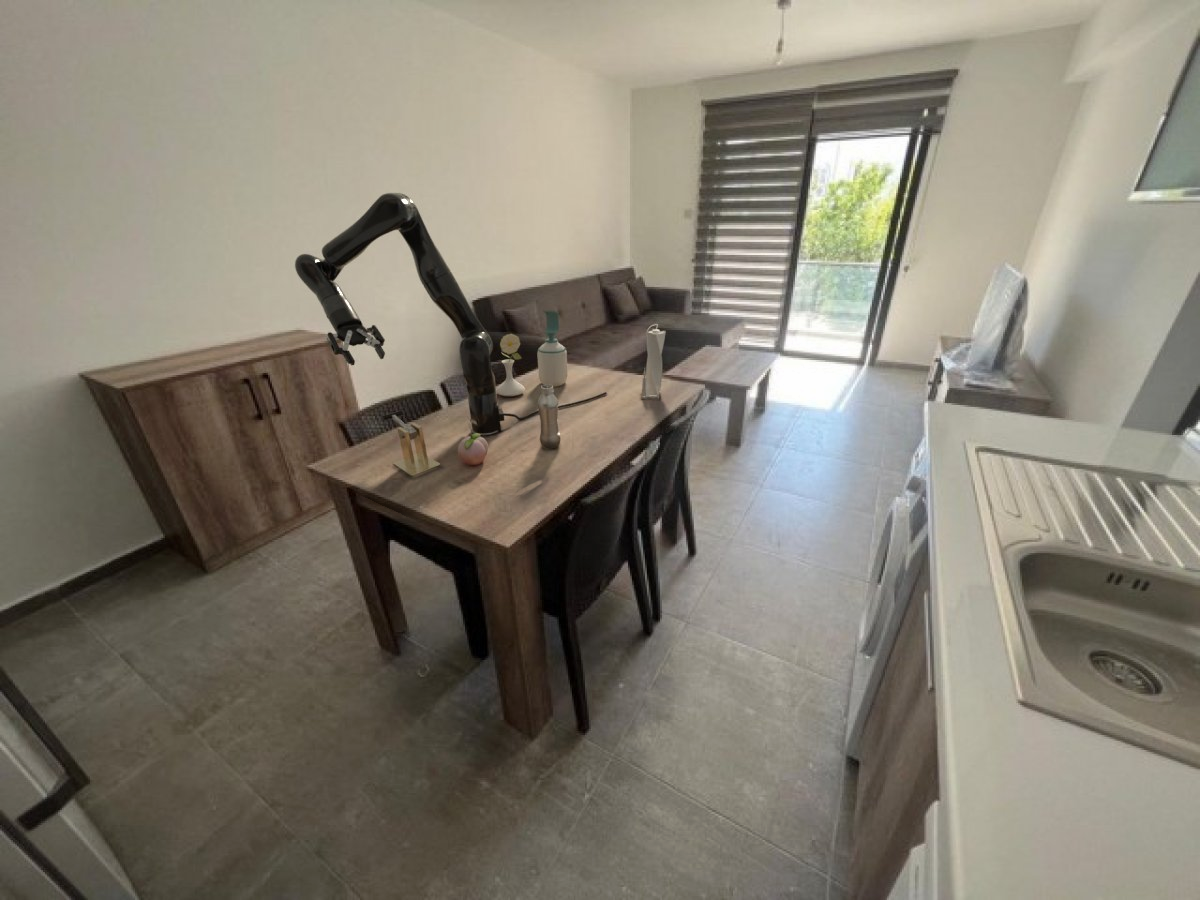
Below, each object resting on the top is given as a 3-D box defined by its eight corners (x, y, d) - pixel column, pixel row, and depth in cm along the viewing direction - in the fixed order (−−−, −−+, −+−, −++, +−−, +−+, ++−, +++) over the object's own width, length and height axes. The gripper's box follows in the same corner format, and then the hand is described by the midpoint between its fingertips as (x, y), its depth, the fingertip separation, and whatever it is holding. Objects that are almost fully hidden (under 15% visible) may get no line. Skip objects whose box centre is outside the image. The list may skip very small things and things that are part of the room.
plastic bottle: (564, 443, 153) (561, 384, 144) (555, 452, 148) (552, 391, 139) (545, 440, 155) (542, 381, 146) (536, 449, 150) (532, 389, 141)
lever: (381, 420, 138) (380, 413, 137) (400, 414, 142) (400, 408, 141) (403, 442, 133) (403, 435, 131) (423, 435, 137) (423, 429, 135)
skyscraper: (642, 392, 196) (645, 323, 184) (662, 392, 195) (666, 323, 183) (641, 399, 189) (643, 327, 176) (661, 400, 188) (666, 328, 175)
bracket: (393, 466, 140) (384, 427, 134) (421, 456, 146) (414, 417, 140) (412, 479, 133) (404, 438, 128) (441, 467, 139) (434, 427, 134)
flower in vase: (490, 395, 194) (484, 333, 183) (510, 387, 202) (505, 328, 191) (514, 401, 187) (508, 338, 176) (533, 393, 196) (529, 332, 184)
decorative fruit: (465, 457, 145) (460, 427, 141) (492, 457, 145) (488, 427, 140) (456, 472, 137) (451, 441, 132) (484, 473, 136) (480, 441, 132)
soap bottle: (535, 387, 202) (530, 312, 188) (543, 378, 213) (539, 306, 199) (564, 388, 200) (561, 312, 186) (570, 379, 211) (568, 307, 197)
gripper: (316, 310, 132) (344, 358, 130) (368, 303, 141) (394, 348, 139) (314, 326, 137) (341, 373, 135) (364, 319, 147) (389, 362, 145)
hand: (368, 360), depth 137 cm, fingers open, 8 cm apart
